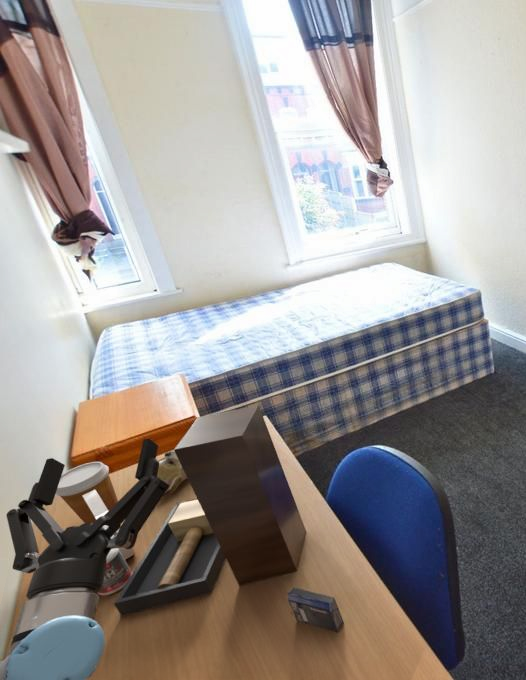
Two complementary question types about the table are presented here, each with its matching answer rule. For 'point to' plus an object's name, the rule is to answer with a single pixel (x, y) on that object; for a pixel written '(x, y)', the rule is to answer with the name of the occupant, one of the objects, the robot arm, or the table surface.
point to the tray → (157, 560)
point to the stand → (243, 493)
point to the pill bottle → (115, 573)
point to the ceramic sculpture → (171, 471)
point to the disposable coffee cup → (86, 488)
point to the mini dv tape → (315, 609)
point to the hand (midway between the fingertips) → (104, 451)
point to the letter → (100, 510)
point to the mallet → (185, 539)
